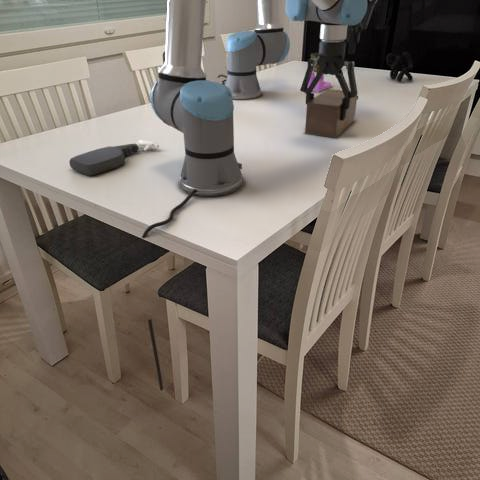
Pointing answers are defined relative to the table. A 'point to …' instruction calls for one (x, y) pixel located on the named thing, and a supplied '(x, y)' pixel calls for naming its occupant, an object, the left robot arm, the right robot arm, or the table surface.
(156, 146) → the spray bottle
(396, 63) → the squiggle
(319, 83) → the bracket
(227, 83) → the right robot arm
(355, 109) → the drawer
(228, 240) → the table surface
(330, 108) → the brown rectangular box
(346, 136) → the table surface
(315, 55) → the olive tapered piece
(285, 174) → the table surface
